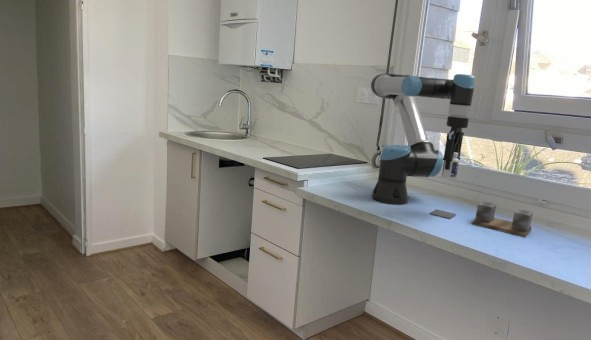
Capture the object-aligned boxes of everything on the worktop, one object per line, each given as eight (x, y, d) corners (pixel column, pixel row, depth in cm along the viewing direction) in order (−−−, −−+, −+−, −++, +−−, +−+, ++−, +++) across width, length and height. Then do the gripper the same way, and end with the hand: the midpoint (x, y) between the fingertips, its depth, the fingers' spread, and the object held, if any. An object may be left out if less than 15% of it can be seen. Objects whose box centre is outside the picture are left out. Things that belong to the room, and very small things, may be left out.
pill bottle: (457, 179, 165) (461, 154, 163) (442, 177, 166) (446, 152, 164) (455, 176, 170) (459, 152, 168) (440, 175, 171) (444, 150, 169)
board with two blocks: (472, 224, 162) (475, 205, 161) (480, 217, 172) (483, 199, 170) (525, 237, 152) (529, 217, 150) (531, 229, 162) (534, 210, 160)
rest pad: (429, 214, 170) (429, 213, 170) (436, 210, 177) (436, 209, 177) (449, 219, 166) (449, 218, 166) (456, 215, 172) (456, 214, 172)
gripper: (461, 118, 154) (451, 182, 159) (475, 117, 169) (465, 175, 174) (440, 115, 158) (431, 177, 163) (455, 115, 173) (446, 172, 178)
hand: (448, 176), depth 168 cm, fingers closed on pill bottle, 5 cm apart
